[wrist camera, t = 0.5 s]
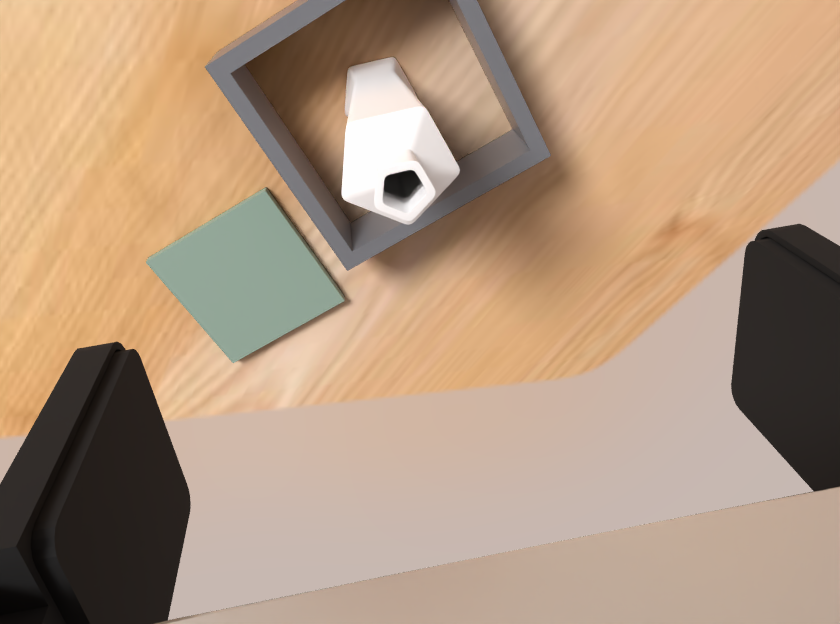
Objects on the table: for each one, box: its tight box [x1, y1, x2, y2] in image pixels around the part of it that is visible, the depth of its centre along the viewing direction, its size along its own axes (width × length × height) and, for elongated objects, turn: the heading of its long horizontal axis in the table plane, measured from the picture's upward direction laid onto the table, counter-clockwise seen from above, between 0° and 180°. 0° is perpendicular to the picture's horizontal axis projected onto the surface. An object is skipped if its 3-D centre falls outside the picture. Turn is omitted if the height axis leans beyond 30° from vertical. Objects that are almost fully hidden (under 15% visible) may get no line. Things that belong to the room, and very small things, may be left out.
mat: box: [146, 187, 345, 363], centre depth 42 cm, size 8×8×1 cm
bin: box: [205, 0, 551, 271], centre depth 36 cm, size 12×12×4 cm
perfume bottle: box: [342, 57, 460, 225], centre depth 31 cm, size 5×4×15 cm
